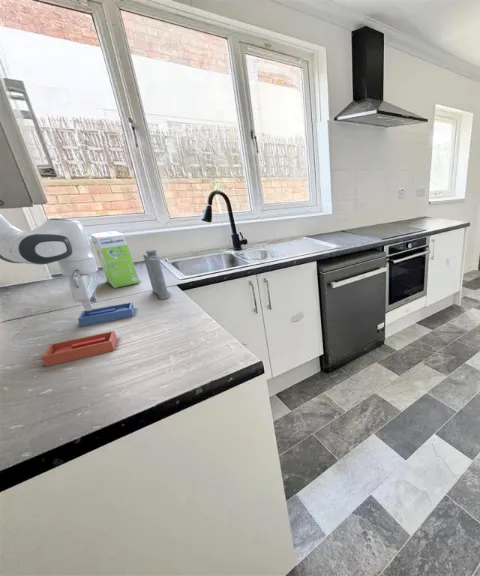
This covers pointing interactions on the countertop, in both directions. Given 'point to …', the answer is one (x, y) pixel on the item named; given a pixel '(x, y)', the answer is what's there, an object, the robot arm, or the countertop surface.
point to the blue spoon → (105, 311)
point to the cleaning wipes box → (115, 258)
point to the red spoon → (81, 344)
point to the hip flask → (155, 274)
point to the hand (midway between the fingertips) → (91, 305)
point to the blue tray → (106, 314)
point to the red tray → (81, 352)
